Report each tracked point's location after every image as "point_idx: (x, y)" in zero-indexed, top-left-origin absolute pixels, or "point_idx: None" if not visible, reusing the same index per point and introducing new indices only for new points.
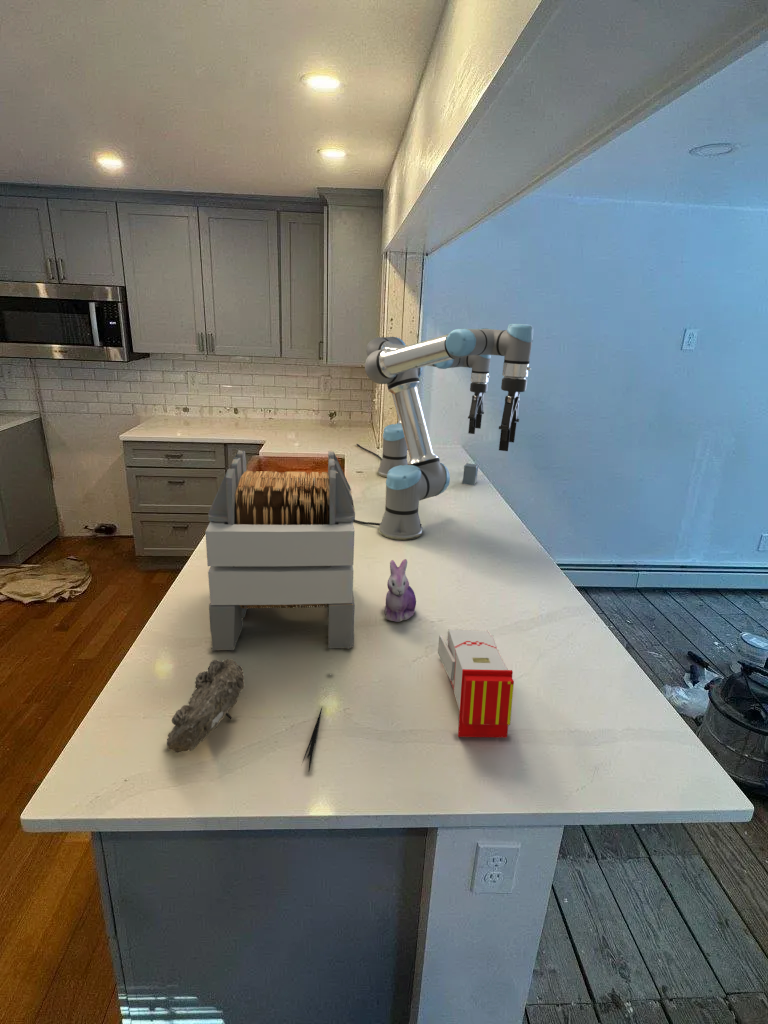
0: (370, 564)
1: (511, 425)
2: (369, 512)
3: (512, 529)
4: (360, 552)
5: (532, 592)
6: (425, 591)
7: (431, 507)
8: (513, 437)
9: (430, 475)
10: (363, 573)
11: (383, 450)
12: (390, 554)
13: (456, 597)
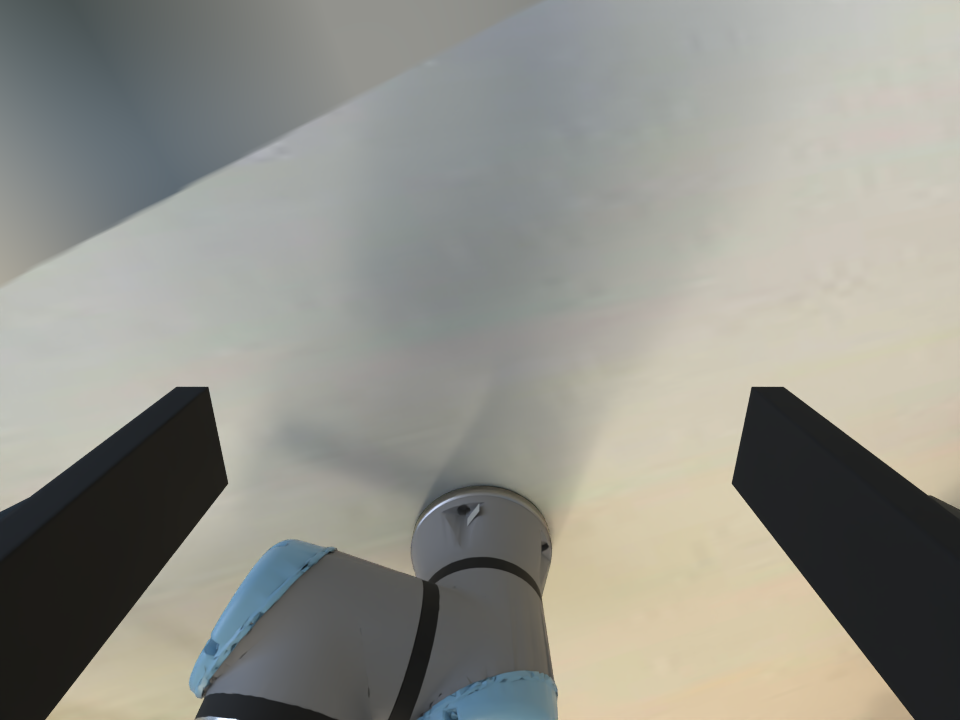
0: (744, 541)
1: (48, 624)
2: None
3: (234, 200)
4: (673, 585)
5: (830, 32)
6: (886, 370)
7: None
8: (172, 432)
9: (382, 655)
10: None
11: None
12: (660, 518)
13: (911, 280)
